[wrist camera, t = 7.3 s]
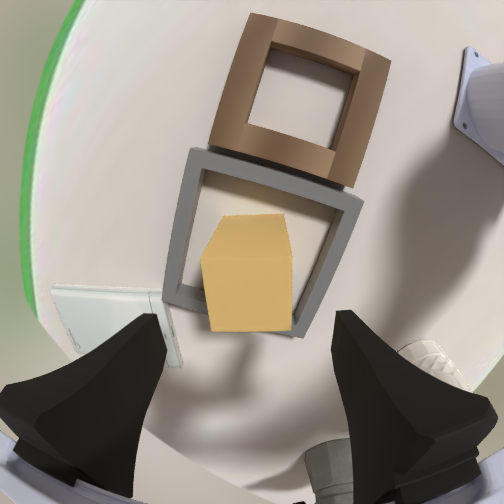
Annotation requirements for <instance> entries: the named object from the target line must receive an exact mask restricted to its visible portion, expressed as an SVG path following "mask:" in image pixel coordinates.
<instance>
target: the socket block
mask: <svg viewBox="0 0 504 504" xmlns="http://www.w3.org/2000/svg"><path fill="white" fill-rule="evenodd" d="M271 49H275V50H279V51H283V52H286V53H290V54H293V55H297V56H300V57H303V58H306V59H309V60H312V61H315V62H318V63H321V64H324V65H327V66H329V67H332V68H335V69H337V70H340V71H342V72H345V73H347V74H350V75H352V76H353V78H352V82H351V85H350V89H349V92H348V95H347V99H346V102H345V105H344V109H343V112H342V115H341V119H340V122H339V125H338V128H337V131H336V134H335V138H334V141H333V144H332V147H331V150H330V149H327V148H325V147H322V146H319V145H316V144H313V143H310V142H307V141H305V140H302V139H298V138H295V137H292V136H289V135H286V134H283V133H279V132H276V131H273V130H269V129H266V128H262V127H259V126H255V125H251V124H248V123H247V122H248V119H249V116H250V112H251V109H252V106H253V103H254V99H255V96H256V93H257V90H258V87H259V83H260V80H261V77H262V74H263V71H264V68H265V65H266V62H267V59H268V56H269V53H270V50H271ZM390 64H391V60H389V59H387V58H385V57H383V56H381V55H379V54H376V53H374V52H372V51H370V50H368V49H366V48H363V47H361V46H359V45H356V44H354V43H352V42H349V41H347V40H344V39H342V38H339V37H336V36H334V35H331V34H328V33H325V32H322V31H319V30H316V29H313V28H310V27H307V26H304V25H300V24H297V23H293V22H290V21H286V20H282V19H278V18H274V17H269V16H265V15H260V14H255V13H250V15H249V18H248V21H247V23H246V26H245V29H244V31H243V34H242V37H241V40H240V42H239V45H238V48H237V51H236V54H235V57H234V60H233V63H232V66H231V69H230V72H229V75H228V78H227V81H226V84H225V87H224V90H223V94H222V97H221V100H220V103H219V107H218V110H217V114H216V117H215V121H214V124H213V128H212V131H211V135H210V138H209V142H208V144H211V145H215V146H219V147H223V148H227V149H231V150H234V151H238V152H242V153H246V154H249V155H253V156H256V157H260V158H263V159H267V160H270V161H273V162H277V163H280V164H283V165H286V166H290V167H293V168H296V169H299V170H302V171H305V172H308V173H311V174H314V175H317V176H320V177H323V178H325V179H328V180H331V181H334V182H337V183H339V184H342V185H345V186H347V187H350V188H353V187H354V184H355V181H356V178H357V175H358V173H359V170H360V167H361V164H362V161H363V158H364V155H365V152H366V149H367V145H368V142H369V139H370V136H371V133H372V129H373V126H374V123H375V120H376V116H377V113H378V109H379V106H380V102H381V99H382V95H383V91H384V88H385V84H386V80H387V76H388V72H389V68H390Z"/></svg>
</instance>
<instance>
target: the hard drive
mask: <svg viewBox="0 0 504 504" xmlns="http://www.w3.org/2000/svg"><path fill="white" fill-rule="evenodd" d="M162 291H163V288H133V287H108V286H87V285H70V284H54V285H53V286H51V288H50V293H51V296H52V298H53V301H54V304H55V306H56V309H57V311H58V314H59V316H60V319H61V321H62V323H63V326H64V328H65V330H66V332H67V335H68V337H69V339H70V341H71V343H72V345H73V347H74V349H75V351H76V352H77V353H80V354H85V355H86V354H87V353H89V352H90V351H92V350H93V349H95V348H96V347H98V346H99V345H100V344H102V343H103V342H105V341H106V340H108V339H109V338H110V337H112V336H113V335H114V334H116V333H117V332H118V331H120V330H121V329H122V328H124V327H125V326H126V325H128V324H129V323H130V322H131V321H133V320H134V319H136V318H137V317H138V316H140V315H141V314H143V313H155V314H157V317H158V320H159V324H160V327H161V331H162V334H163V337H164V340H165V344H166V347H167V350H168V351H167V355H166V359H165V364H164V367H171V368H181V367H182V365H183V359H182V355H181V352H180V348H179V344H178V340H177V336H176V332H175V328H174V324H173V320H172V315H171V311H170V307H169V303H167V302H164V301H161V299H162Z"/></svg>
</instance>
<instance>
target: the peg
mask: <svg viewBox="0 0 504 504" xmlns="http://www.w3.org/2000/svg"><path fill="white" fill-rule="evenodd" d="M200 263H201V270H202V276H203V283H204V289H205V296H206V302H207V308H208V314H209V320H210V326H211V331H216V332H258V331H291V325H292V252H291V247H290V242H289V237H288V232H287V227H286V222H285V218H284V214H259V215H236V216H223V218H222V220H221V221H220V223H219V225H218V227H217V229H216V231H215V232H214V234H213V236H212V238H211V240H210V242H209V244H208V245H207V247H206V249H205V251H204V253H203V255H202V257H201V259H200Z"/></svg>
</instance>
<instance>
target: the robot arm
mask: <svg viewBox="0 0 504 504" xmlns="http://www.w3.org/2000/svg"><path fill="white" fill-rule="evenodd" d="M474 54H475V55H476V56H475V55H474ZM463 124H464V128H463ZM454 125H455V127H456V128H457V129H458V130H460V131H461V132H463V133H464V134H465V135H467V136H468V137H469V138H471V139H472V140H473V141H475V142H476V143H477V144H478V145H480V146H481V147H482V148H483V149H485V150H486V151H487V152H488V153H489V154H491V155H492V156H493V157H494V158H495V159H496V160H498V161H499V162H500V163H501V164H502V165H503V166H504V62H503V63H496V64H491V63H490V62H489V61H488V60H487V59H486V58H485V57H484V56H482V55H481V54H480V53H479V52H478V51H477V50H475V49H474V48H473V47H472V46H467V47H466V48H465V57H464V65H463V73H462V79H461V85H460V91H459V97H458V102H457V107H456V111H455V116H454ZM167 351H168V350H167V347H166V344H165V340H164V337H163V334H162V331H161V327H160V324H159V320H158V317H157V314H155V313H143V314H141V315H140V316H138V317H137V318H136V319H134V320H133V321H131V322H130V323H129V324H128V325H126V326H125V327H124V328H122V329H121V330H120V331H118V332H117V333H116V334H114V335H113V336H112V337H110V338H109V339H108V340H106V341H105V342H103V343H102V344H100V345H99V346H98V347H96V348H95V349H93V350H92V351H90V352H89V353H87V354H86V355H84V356H82V357H81V358H79V359H77V360H75V361H73V362H72V363H70V364H68V365H66V366H63V367H61V368H59V369H57V370H55V371H52V372H50V373H48V374H45V375H42V376H40V377H36V378H33V379H30V380H27V381H22V382H18V383H13V384H8V385H6V386H5V387H4V389H3V390H2V391H1V393H0V418H1V419H2V420H3V421H4V422H5V423H6V425H7V426H8V427H9V428H10V429H11V430H12V431H13V432H14V433H15V434H16V435H17V436H18V437H19V440H18V441H17V442H16V441H14V440H13V439H12V438H10V437H9V436H8V435H6V434H5V433H3V432H2V431H1V430H0V490H1V491H2V492H3V493H4V494H6V495H7V496H8V497H9V498H10V499H11V500H12V501H13V502H14V503H16V504H147V503H143V502H140V501H136V500H133V499H130V498H132V497H133V481H134V469H135V462H136V454H137V449H138V443H139V438H140V434H141V430H142V425H143V421H144V418H145V415H146V412H147V409H148V406H149V404H150V401H151V399H152V396H153V394H154V391H155V389H156V386H157V384H158V381H159V379H160V376H161V374H162V371H163V367H164V364H165V359H166V355H167ZM331 353H332V360H333V367H334V372H335V376H336V379H337V383H338V387H339V390H340V394H341V397H342V401H343V405H344V408H345V412H346V416H347V421H348V427H349V435H350V443H351V454H352V467H353V504H504V448H502V449H500V450H499V451H497V452H495V453H493V454H492V455H490V456H488V457H487V458H485V459H483V460H482V461H481V462H479V463H477V460H476V457H477V456H478V455H479V451H478V449H477V446H478V445H479V444H480V443H481V441H482V440H483V439H484V438H485V437H486V436H487V435H488V434H489V433H490V432H491V430H492V429H493V428H494V427H495V425H496V423H497V420H498V416H497V414H496V412H495V410H494V408H493V406H492V405H491V403H490V401H489V399H488V398H487V397H484V396H481V395H477V394H474V393H471V392H468V391H465V390H462V389H460V388H457V387H455V386H452V385H450V384H448V383H446V382H444V381H441V380H439V379H438V378H436V377H434V376H432V375H430V374H428V373H427V372H425V371H423V370H422V369H420V368H418V367H417V366H415V365H414V364H412V363H411V362H409V361H408V360H406V359H405V358H404V357H402V356H401V355H400V354H398V353H397V352H396V351H395V350H394V349H392V348H391V347H390V346H389V345H388V344H386V343H385V342H384V341H383V340H382V339H381V338H380V337H378V336H377V335H376V334H375V333H374V332H373V331H372V330H371V329H370V328H369V327H368V326H367V325H366V324H365V323H364V322H363V321H362V320H361V319H360V318H359V317H358V316H357V315H356V314H355V313H354V312H353V311H352V310H341V311H336V316H335V324H334V331H333V339H332V345H331Z"/></svg>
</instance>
